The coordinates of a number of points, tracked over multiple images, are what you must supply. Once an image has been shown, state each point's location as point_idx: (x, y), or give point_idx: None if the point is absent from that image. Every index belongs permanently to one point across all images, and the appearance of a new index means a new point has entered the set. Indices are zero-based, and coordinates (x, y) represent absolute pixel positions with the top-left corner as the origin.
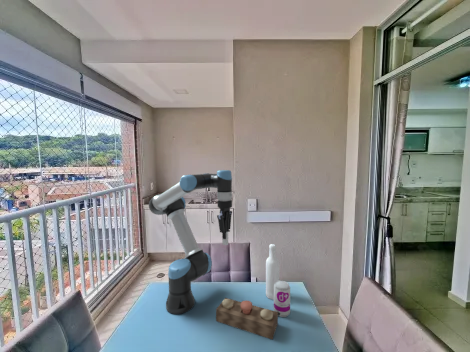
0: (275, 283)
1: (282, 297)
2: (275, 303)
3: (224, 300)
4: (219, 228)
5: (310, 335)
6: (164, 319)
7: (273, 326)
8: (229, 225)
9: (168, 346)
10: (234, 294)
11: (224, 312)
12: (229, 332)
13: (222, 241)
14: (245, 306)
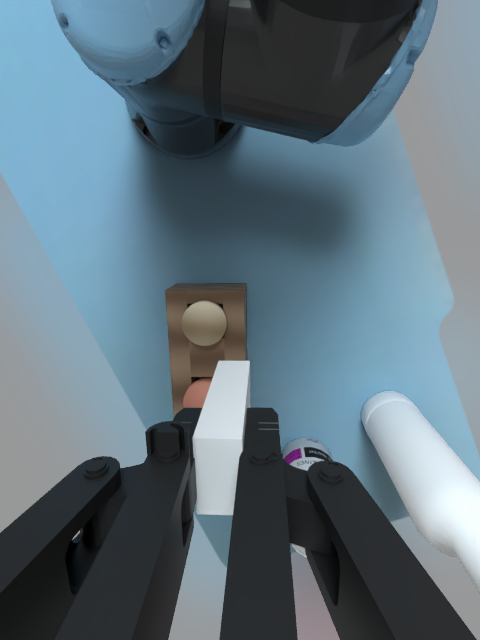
0: None
1: None
2: None
3: (207, 307)
4: (18, 519)
5: None
6: (94, 97)
7: None
8: (329, 610)
9: (22, 204)
10: (342, 276)
11: (168, 325)
12: (155, 344)
13: (214, 374)
14: (191, 405)
